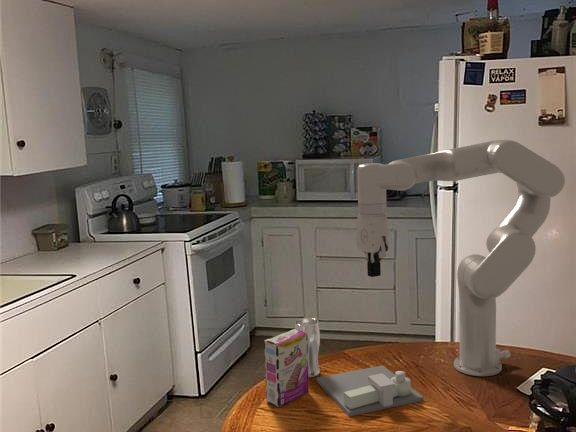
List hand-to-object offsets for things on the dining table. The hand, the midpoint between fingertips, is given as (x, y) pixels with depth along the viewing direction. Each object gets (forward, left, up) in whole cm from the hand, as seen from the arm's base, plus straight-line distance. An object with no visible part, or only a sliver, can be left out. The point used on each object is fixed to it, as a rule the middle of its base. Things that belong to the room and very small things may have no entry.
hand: (374, 275), depth 153 cm
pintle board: (+8, +11, -27) cm, 30 cm away
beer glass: (+18, -6, -27) cm, 33 cm away
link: (+8, +18, -26) cm, 32 cm away
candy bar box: (+28, +6, -27) cm, 40 cm away
